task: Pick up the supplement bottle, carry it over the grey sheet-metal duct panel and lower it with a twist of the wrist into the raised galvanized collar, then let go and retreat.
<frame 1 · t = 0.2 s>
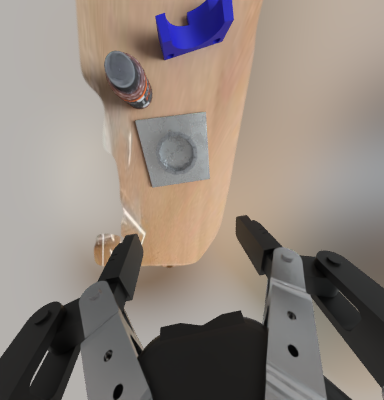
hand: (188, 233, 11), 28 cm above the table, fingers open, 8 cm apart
supplement bottle: (138, 92, 29), on the table
blue notched bracket: (189, 36, 27), on the table
duct panel: (176, 152, 35), on the table
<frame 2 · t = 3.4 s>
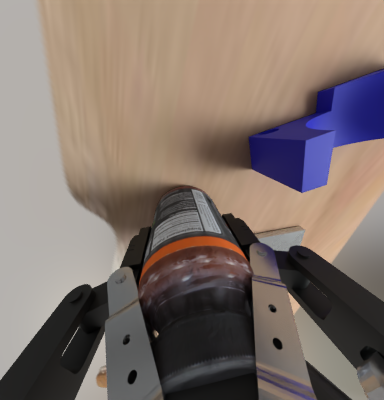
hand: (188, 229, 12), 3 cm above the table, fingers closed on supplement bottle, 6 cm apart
supplement bottle: (185, 209, 15), on the table, touching gripper
blue notched bracket: (310, 122, 12), on the table
duct panel: (236, 277, 21), on the table
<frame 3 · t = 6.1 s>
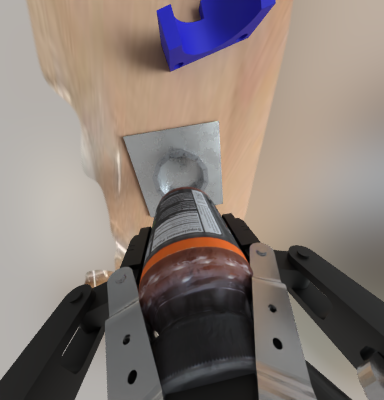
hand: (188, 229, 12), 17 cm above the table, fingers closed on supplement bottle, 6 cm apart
supplement bottle: (185, 210, 15), point 14 cm above the table, touching gripper
blue notched bracket: (203, 35, 19), on the table
duct panel: (180, 174, 27), on the table
when the fingers open (5 cm above the table, at t = 9.1 s): supplement bottle drops 1 cm, resting on duct panel.
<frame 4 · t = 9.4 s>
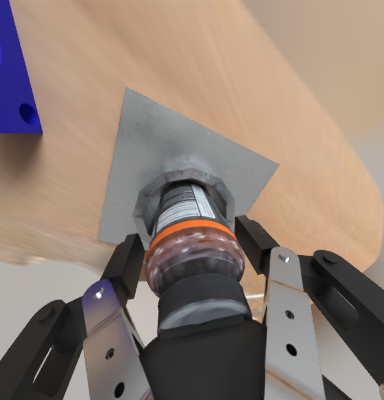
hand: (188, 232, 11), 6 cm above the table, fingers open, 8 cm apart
supplement bottle: (185, 203, 16), point 1 cm above the table, touching duct panel
duct panel: (183, 201, 16), on the table
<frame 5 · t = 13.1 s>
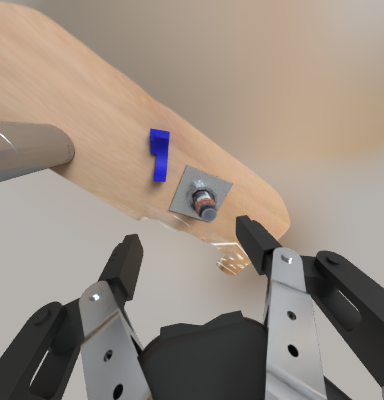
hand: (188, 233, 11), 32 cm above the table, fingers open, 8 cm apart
supplement bottle: (201, 196, 45), point 1 cm above the table, touching duct panel
blue notched bracket: (159, 153, 39), on the table
duct panel: (200, 196, 46), on the table
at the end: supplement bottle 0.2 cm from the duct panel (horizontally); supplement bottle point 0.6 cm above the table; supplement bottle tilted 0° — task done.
